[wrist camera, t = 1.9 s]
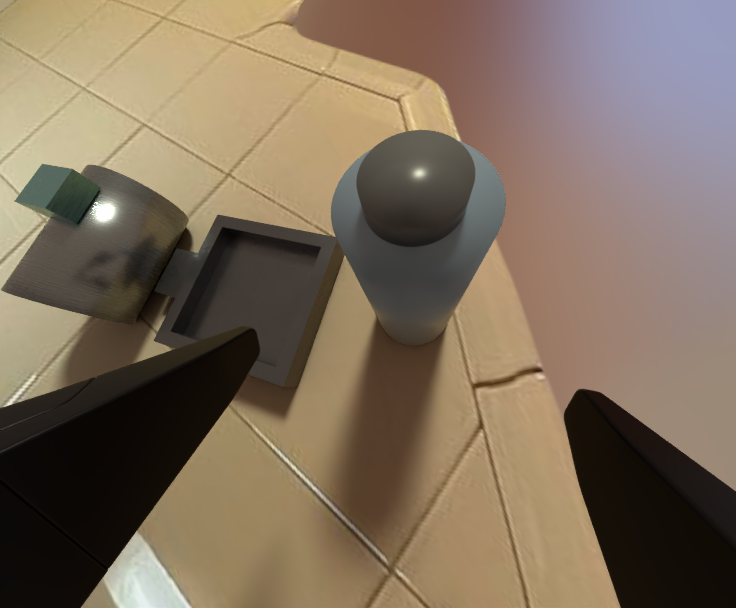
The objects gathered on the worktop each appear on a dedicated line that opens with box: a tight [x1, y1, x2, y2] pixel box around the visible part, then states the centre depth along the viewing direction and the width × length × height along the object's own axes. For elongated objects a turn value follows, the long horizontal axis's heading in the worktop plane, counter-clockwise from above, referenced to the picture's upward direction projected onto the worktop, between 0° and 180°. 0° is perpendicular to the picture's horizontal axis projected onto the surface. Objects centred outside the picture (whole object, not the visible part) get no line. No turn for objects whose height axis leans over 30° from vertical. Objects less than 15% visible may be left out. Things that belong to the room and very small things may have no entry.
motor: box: [1, 164, 344, 387], centre depth 18 cm, size 11×21×8 cm, turn 73°
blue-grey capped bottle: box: [331, 130, 506, 346], centre depth 13 cm, size 5×5×13 cm
